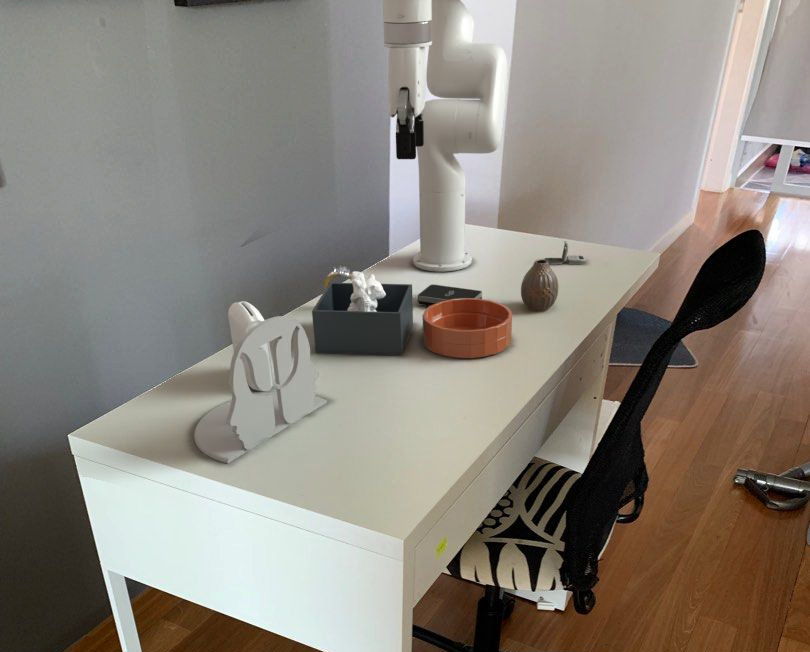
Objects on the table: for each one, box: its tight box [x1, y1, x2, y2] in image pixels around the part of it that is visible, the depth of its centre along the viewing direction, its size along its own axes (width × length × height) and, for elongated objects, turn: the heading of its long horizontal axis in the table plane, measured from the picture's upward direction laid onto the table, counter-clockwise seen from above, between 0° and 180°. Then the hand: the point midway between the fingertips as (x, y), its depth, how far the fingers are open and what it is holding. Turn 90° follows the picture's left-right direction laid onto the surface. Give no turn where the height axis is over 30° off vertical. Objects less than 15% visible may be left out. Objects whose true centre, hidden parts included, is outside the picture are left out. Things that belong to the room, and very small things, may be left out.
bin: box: [311, 282, 414, 357], centre depth 149 cm, size 14×15×8 cm
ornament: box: [193, 315, 328, 464], centre depth 123 cm, size 22×13×17 cm, turn 145°
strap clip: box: [543, 240, 587, 265], centre depth 181 cm, size 8×3×4 cm, turn 87°
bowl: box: [422, 298, 513, 359], centre depth 148 cm, size 15×15×5 cm
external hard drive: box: [416, 283, 483, 307], centre depth 164 cm, size 7×11×2 cm, turn 65°
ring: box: [323, 264, 352, 292], centre depth 161 cm, size 7×3×8 cm, turn 68°
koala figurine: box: [347, 270, 386, 312], centre depth 147 cm, size 8×7×12 cm
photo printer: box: [227, 300, 275, 391], centre depth 136 cm, size 10×4×12 cm, turn 26°
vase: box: [520, 259, 559, 312], centre depth 159 cm, size 7×7×9 cm
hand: (410, 152), depth 144 cm, fingers open, 9 cm apart
